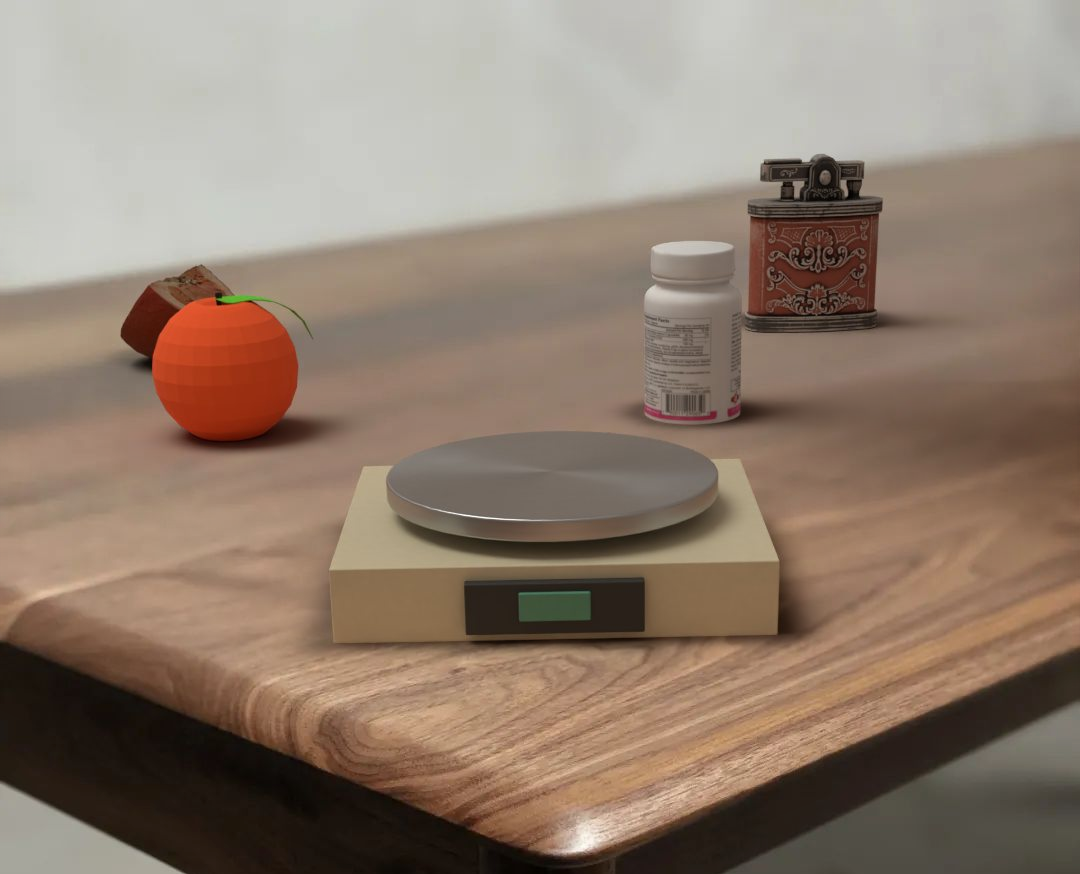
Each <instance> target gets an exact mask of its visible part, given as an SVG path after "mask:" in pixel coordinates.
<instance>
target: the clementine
mask: <svg viewBox="0 0 1080 874" xmlns="http://www.w3.org/2000/svg"><path fill="white" fill-rule="evenodd" d="M255 301H256V302H255ZM257 301H258V302H262V301H263V302H268V303H275V304H277V305H279V306H281V307H284V308H286V309H287V310H289V311H290V312H292V314H294V315H295V317H297V318H298V319H299V320H300V321H301V322H302V324H303V325H304V327H305V329H306V331H307V333H308V334H309V336H310V337H311V339H312V340H314V338H313V336H312V333H311V330H310V329H309V327H308V325H307V323H306V321H305V320H304V319H303V318H302V317H301V316H300V314H298V313H297V312H296V311H295V309H292V308H290V307H288V306H286V305H285V304H282V303H280V302H277V301H274V300H272V299H269V298H267V297H262V296H257V295H256V296H255V295H245V294H237V295H235V296H226V297H222V293H215V297H211V298H205V299H200V300H197V301H193V302H191V303H189V304H187V305H186V306H184V307H183V308H182V309H181V310H180V311H179V312H177V313H176V314H175V315H174V316H173V317H172V318H170V320H169V321H168V323H167V324H166V326H165V327H164V329H163V330H162V332H161V333H160V335H159V337H158V340H157V344H156V347H155V350H154V353H153V359H152V364H151V365H152V369H151V375H152V380H153V384H154V388H155V389H154V390H155V393H156V395H157V397H158V399H159V401H160V402H161V404H162V406H163V408H164V410H165V411H166V412H167V413H168V415H169V416H170V417H171V418H172V419H173V420H174V421H175V422H176V423H177V424H178V425H179V426H180V428H182V429H184V430H185V431H187V432H189V433H191V434H192V435H194V436H195V437H197V438H200V439H203V440H207V441H214V442H234V441H236V442H238V441H244V440H249V439H253V438H256V437H259V436H261V435H264V434H265V433H267V432H268V431H269V430H270V429H272V428H273V427H274V426H275V425H276V424H278V423H279V422H280V421H281V420H282V418H283V417H284V416H285V414H286V413H287V411H288V410H289V408H290V407H291V406H292V404H293V400H294V397H295V395H296V391H297V389H298V380H299V379H298V378H299V377H298V376H299V359H298V356H297V351H296V346H295V343H294V342H293V340H292V338H291V336H290V334H289V332H288V330H287V328H286V327H285V325H283V324H282V323H281V321H280V320H279V319H278V318H277V317H276V316H275V315H274V314H273V313H271V312H270V311H269V310H267V309H266V308H264V307H263V306H261V305H260V304H258V303H257Z"/></svg>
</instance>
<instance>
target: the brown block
mask: <svg viewBox="0 0 1080 874" xmlns="http://www.w3.org/2000/svg"><path fill="white" fill-rule="evenodd" d="M215 293H222V297H226V296H236V295H235V294H234V292H232V290H231V289H230V288H229V286H227V285H226V284H225V283H224V282H223V281H222V280H221V279H219V278H218V277H217V276H216V275H215V274H214V273H213V272H212V271H211V270H210V269H208V268H206V266H205V265H203V264H199V265H194V266H192V267H191V268H190V269H189V268H188V269H187V270H185V271H184V272H183V273H181V274H180V275H178V276H172V277H165V278H164V279H163V280H161V279H160V280H156V281H154V282H151V283H150V284H148V285H147V286H146V288H145V289H144V291H142V293H141V294H140V296H138V298H137V299H136V301H135V302H134V304H133V306H132V307H131V309H130V311H129V313H128V314H127V316H126V317H125V319H124V322H123V323H122V325H121V327H120V338H121V340H123V342H124V343H125V344H126V345H128V346H129V347H130V348H131V349H132V350H133V351H135V352H136V353H137V354H140V355H143V356H145V357H148V358H149V359H152V360H153V353H154V350H155V347H156V344H157V340H158V337H159V335H160V333H161V332H162V330H163V329H164V327H165V326H166V324H167V323H168V321H169V320H170V318H172V317H173V316H174V315H175V314H176V313H177V312H179V311H180V310H181V309H182V308H183V307H184V306H186V305H187V304H189V303H191V302H193V301H197V300H200V299H205V298H211V297H215Z"/></svg>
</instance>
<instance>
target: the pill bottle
mask: <svg viewBox="0 0 1080 874" xmlns="http://www.w3.org/2000/svg"><path fill="white" fill-rule="evenodd" d="M735 250H736V249H735V246H734V245H733V244H730V243H727V242H722V241H713V240H712V241H709V240H681V241H671V242H663V243H658V244H656V245H654V246H652V247H651V250H650V272H651V279H653V280H654V281H656V282H655V284H654V285H652V286H651V287H650V288H649V289H648V290H646V292H645V294H644V298H643V382H644V384H643V386H644V391H643V392H644V395H643V396H644V400H643V401H644V403H643V404H644V405H643V407H644V415H645V416H646V418H648V419H651V420H652V421H656V422H660V423H666V424H673V425H691V426H692V425H710V424H718V423H723V422H728V421H732V420H735V419H736V418H737V417H739V416H740V415H741V407H742V406H741V404H742V389H741V388H742V383H741V382H742V381H741V380H742V379H741V378H742V370H741V369H742V336H743V335H742V325H743V323H742V322H743V321H742V319H743V317H742V316H743V313H742V312H743V301H742V299H743V298H742V293H741V291H740V290H739V288H738V287H737V286H735V285H734V284H732V283H731V281H730V280H733V279H734V278H735V272H736V269H737V268H736V257H735V255H736V253H735Z"/></svg>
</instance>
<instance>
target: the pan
mask: <svg viewBox="0 0 1080 874" xmlns="http://www.w3.org/2000/svg"><path fill="white" fill-rule="evenodd" d="M710 459H711V458H709V457H708V456H706V455H704V454H703V453H700V452H698V451H696V450H694V449H693V448H689V447H687V446H684V445H680V444H678V443H674V442H670V441H666V440H662V439H656V438H653V437H652V438H651V437H646V436H641V435H640V436H639V435H633V434H625V433H624V434H623V433H616V432H615V433H614V432H601V431H587V430H586V431H581V430H580V431H579V430H546V431H542V430H541V431H525V432H510V433H502V434H491V435H485V436H478V437H477V436H476V437H471V438H467V439H460V440H455V441H452V442H447V443H442V444H439V445H436V446H432V447H429V448H426V449H423V450H420V451H418V452H415V453H413V454H411V455H408V456H407V457H405V458H403V459H402V460H400V461H399V462H397V463H394V465H392V466H393V467H392V468H391V469H390V471H389V473H388V475H387V477H386V491H387V501H388V503H389V505H390V508H391V509H392V510H393V511H394V512H395V513H396V514H398V515H399V516H401V517H402V518H404V519H406V520H408V521H410V522H412V523H414V524H417V525H420V526H423V527H425V528H428V529H432V530H436V531H440V532H444V533H448V534H454V535H459V536H464V537H471V538H479V539H487V540H499V541H514V542H570V541H586V540H598V539H607V538H615V537H622V536H628V535H634V534H640V533H644V532H649V531H653V530H658V529H661V528H665V527H668V526H672V525H675V524H678V523H681V522H683V521H686V520H688V519H691V518H693V517H695V516H697V515H699V514H701V513H702V512H704V511H705V510H706V509H708V508H709V507H710V506H711V505H712V504H713V503H714V502H715V500H716V498H717V495H718V470H717V468H716V466H715V464H714V463H713V462H712V461H711V460H710Z"/></svg>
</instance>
